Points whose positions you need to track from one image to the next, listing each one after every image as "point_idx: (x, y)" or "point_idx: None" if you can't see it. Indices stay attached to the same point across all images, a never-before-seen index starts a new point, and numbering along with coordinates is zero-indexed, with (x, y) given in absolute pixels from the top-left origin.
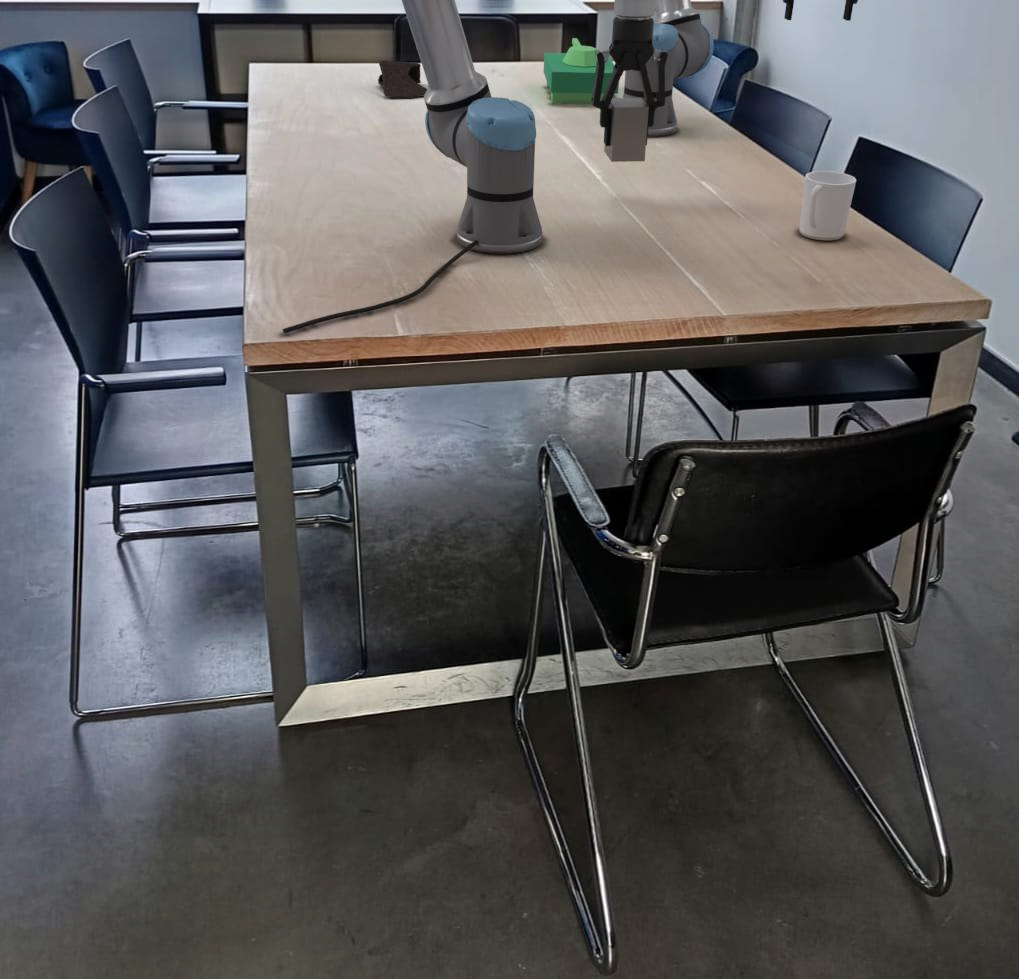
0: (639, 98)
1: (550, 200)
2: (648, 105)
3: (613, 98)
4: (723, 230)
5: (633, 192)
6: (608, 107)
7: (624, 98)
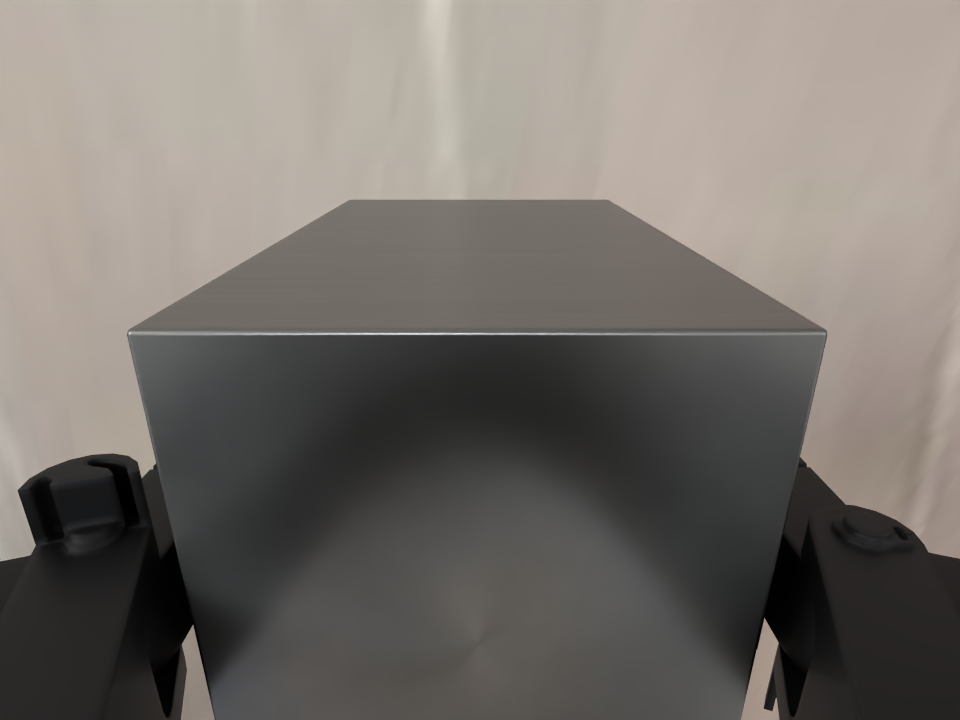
0: (790, 378)
1: (124, 291)
2: (781, 671)
3: (255, 355)
4: (766, 654)
5: (566, 169)
6: (181, 681)
7: (482, 368)
